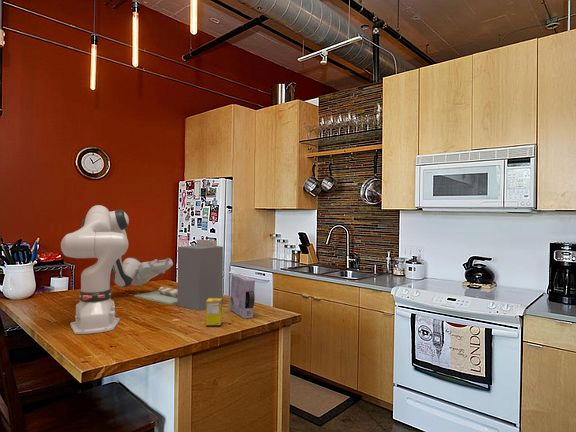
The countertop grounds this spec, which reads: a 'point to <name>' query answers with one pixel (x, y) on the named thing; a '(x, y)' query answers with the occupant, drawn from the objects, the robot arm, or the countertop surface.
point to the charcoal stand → (199, 275)
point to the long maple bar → (168, 291)
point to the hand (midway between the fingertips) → (163, 259)
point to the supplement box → (214, 312)
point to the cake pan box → (242, 296)
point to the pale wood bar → (207, 243)
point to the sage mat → (158, 297)
